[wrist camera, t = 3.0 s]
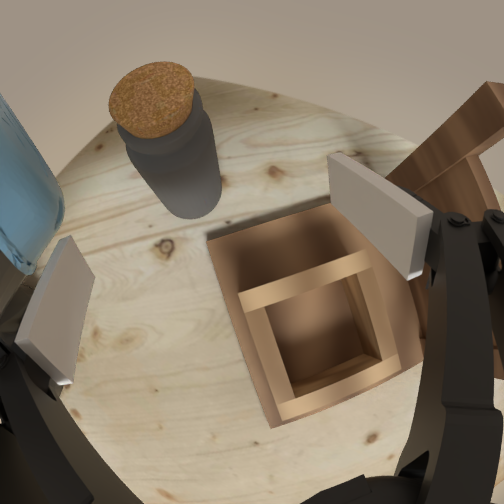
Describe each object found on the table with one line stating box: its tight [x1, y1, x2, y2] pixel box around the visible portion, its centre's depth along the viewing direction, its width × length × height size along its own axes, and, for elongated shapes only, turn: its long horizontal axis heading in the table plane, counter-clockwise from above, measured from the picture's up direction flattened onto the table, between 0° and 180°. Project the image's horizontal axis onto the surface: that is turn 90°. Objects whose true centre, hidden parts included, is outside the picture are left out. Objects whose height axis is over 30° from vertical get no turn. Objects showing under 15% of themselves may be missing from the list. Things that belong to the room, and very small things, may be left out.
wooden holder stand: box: [206, 81, 504, 429], centre depth 17 cm, size 19×18×19 cm
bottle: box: [109, 62, 222, 219], centre depth 20 cm, size 6×6×15 cm
